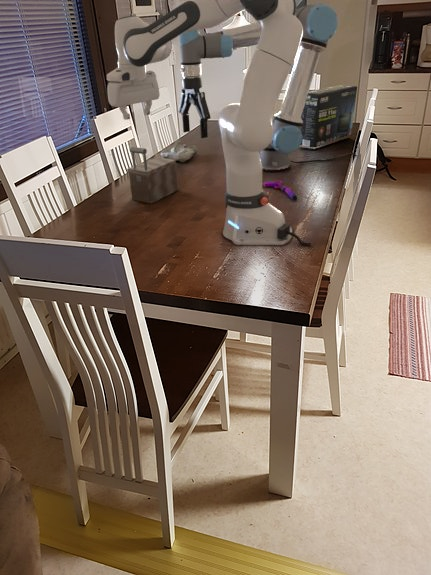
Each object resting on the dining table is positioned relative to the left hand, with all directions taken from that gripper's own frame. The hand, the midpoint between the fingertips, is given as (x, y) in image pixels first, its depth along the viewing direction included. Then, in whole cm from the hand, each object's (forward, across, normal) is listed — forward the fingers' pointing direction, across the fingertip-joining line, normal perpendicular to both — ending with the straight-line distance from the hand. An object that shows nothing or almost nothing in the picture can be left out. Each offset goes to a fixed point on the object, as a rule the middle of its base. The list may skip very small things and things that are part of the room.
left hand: (137, 116), depth 158 cm
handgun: (+31, -40, +34) cm, 62 cm away
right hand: (+12, -30, 0) cm, 32 cm away
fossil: (+32, -55, -34) cm, 72 cm away
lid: (+21, -10, -5) cm, 24 cm away
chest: (+32, -10, -5) cm, 34 cm away
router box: (+31, -118, +13) cm, 123 cm away
